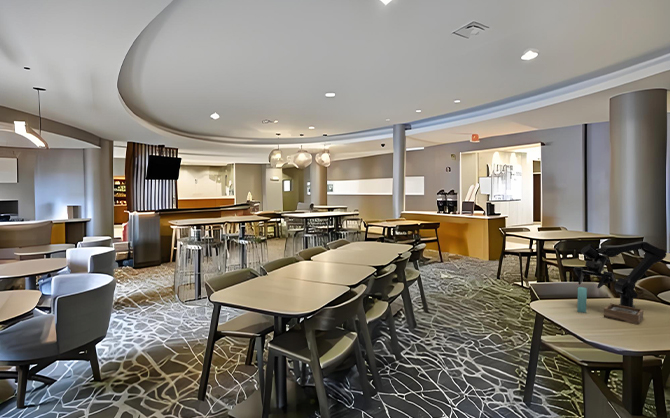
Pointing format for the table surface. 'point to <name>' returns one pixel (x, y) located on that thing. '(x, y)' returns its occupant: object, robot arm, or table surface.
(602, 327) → the table surface
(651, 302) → the table surface
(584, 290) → the peg
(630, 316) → the tray
